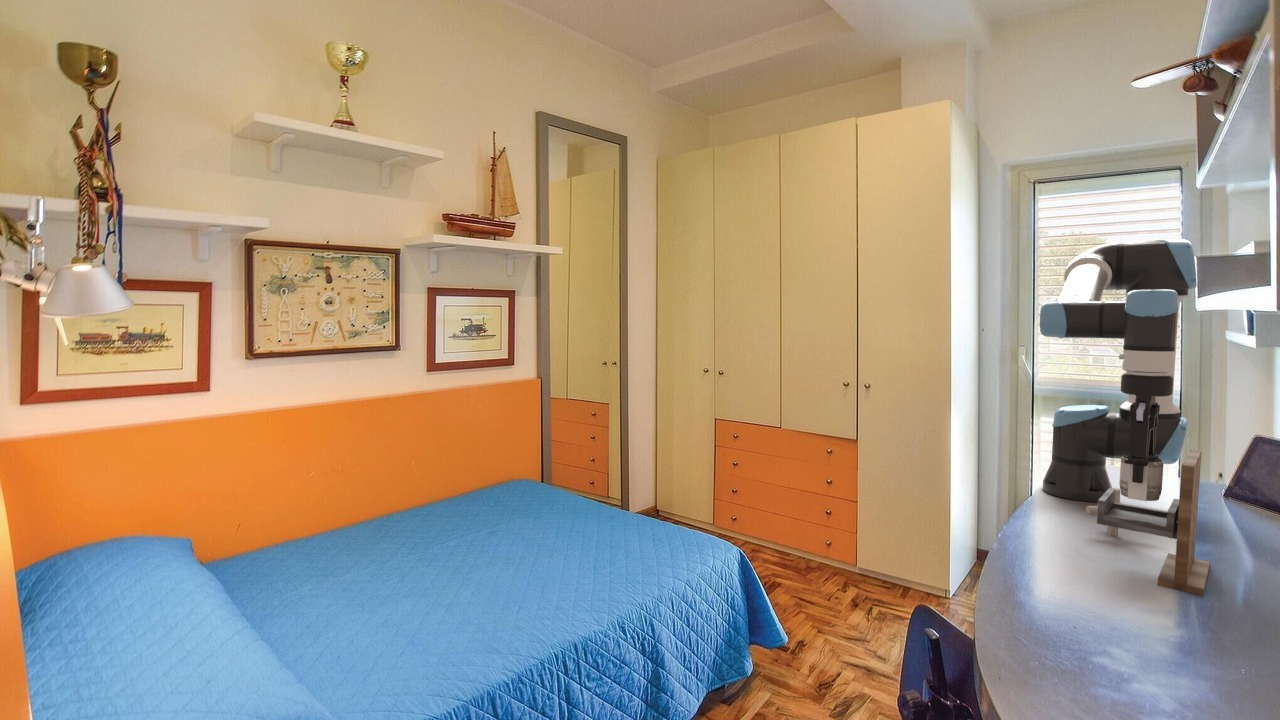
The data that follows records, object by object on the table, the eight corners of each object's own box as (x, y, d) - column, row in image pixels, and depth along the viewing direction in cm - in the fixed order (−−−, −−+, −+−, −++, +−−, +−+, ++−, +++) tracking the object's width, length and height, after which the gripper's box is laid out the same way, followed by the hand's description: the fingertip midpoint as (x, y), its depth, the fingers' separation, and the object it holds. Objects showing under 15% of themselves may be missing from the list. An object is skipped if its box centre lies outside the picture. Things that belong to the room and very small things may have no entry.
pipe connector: (1152, 544, 130) (1155, 497, 129) (1098, 541, 132) (1101, 494, 131) (1125, 527, 139) (1128, 483, 139) (1075, 525, 141) (1078, 481, 141)
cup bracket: (1107, 546, 129) (1113, 440, 127) (1209, 567, 118) (1217, 452, 116) (1092, 569, 118) (1098, 453, 116) (1202, 595, 107) (1211, 468, 105)
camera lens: (1110, 492, 121) (1112, 451, 121) (1142, 491, 121) (1145, 451, 121) (1136, 501, 115) (1139, 459, 114) (1170, 501, 115) (1173, 459, 114)
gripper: (1129, 368, 126) (1123, 481, 128) (1112, 375, 112) (1105, 502, 114) (1179, 370, 120) (1171, 488, 122) (1167, 379, 107) (1159, 511, 109)
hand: (1139, 495), depth 118 cm, fingers closed on camera lens, 6 cm apart
